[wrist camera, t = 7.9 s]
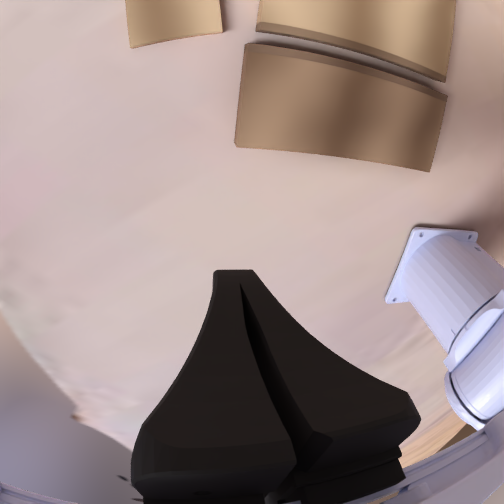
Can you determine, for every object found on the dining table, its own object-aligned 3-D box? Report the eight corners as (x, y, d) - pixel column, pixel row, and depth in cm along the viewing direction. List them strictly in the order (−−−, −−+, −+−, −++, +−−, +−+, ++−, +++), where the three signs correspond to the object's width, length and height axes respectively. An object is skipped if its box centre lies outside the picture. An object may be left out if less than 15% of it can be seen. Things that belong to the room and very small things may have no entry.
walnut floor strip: (436, 92, 17) (447, 95, 16) (420, 166, 21) (429, 172, 20) (244, 44, 15) (248, 42, 14) (234, 142, 18) (236, 147, 17)
